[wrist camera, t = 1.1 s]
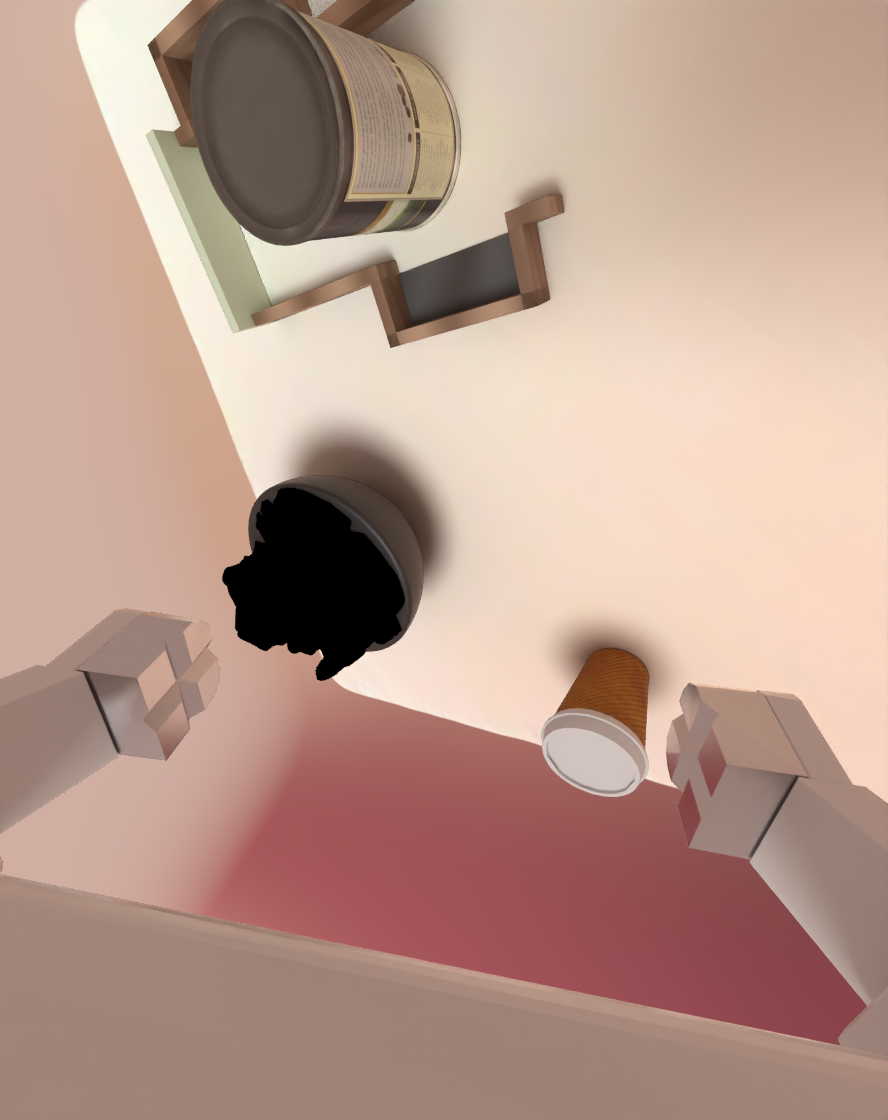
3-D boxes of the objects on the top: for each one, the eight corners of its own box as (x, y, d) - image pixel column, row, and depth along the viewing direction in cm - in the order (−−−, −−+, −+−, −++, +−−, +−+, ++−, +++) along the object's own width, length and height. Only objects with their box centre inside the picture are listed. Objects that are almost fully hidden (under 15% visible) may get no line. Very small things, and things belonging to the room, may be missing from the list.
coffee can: (415, 262, 41) (300, 286, 31) (322, 168, 41) (174, 161, 31) (491, 124, 34) (375, 96, 24) (380, 8, 34) (212, -72, 23)
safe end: (203, 134, 44) (152, 129, 40) (277, 320, 50) (239, 330, 47) (196, 139, 44) (145, 135, 41) (270, 323, 51) (232, 333, 47)
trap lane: (494, -241, 26) (469, -280, 24) (576, 292, 37) (564, 298, 35) (173, 59, 42) (140, 52, 39) (298, 372, 53) (277, 379, 50)
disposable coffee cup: (572, 627, 54) (534, 711, 45) (670, 647, 49) (650, 744, 41) (572, 691, 59) (538, 778, 50) (661, 714, 54) (641, 814, 46)
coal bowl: (281, 480, 63) (146, 561, 49) (393, 414, 50) (253, 498, 36) (368, 611, 68) (269, 716, 55) (488, 581, 56) (398, 707, 42)
